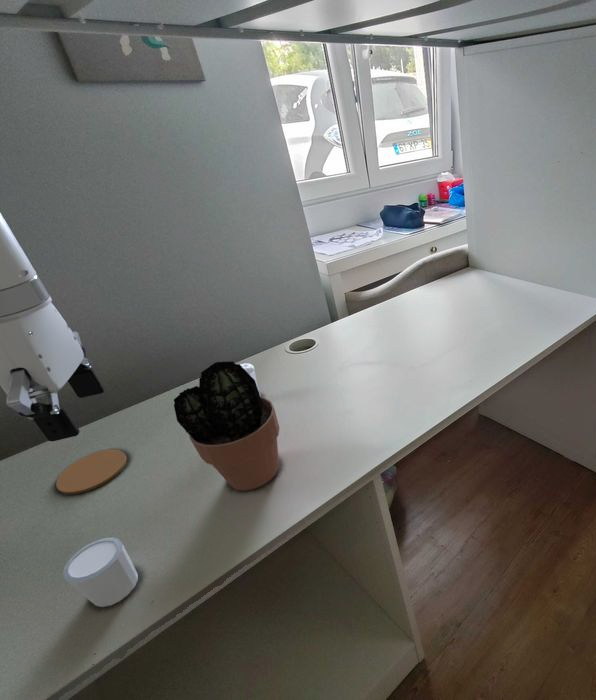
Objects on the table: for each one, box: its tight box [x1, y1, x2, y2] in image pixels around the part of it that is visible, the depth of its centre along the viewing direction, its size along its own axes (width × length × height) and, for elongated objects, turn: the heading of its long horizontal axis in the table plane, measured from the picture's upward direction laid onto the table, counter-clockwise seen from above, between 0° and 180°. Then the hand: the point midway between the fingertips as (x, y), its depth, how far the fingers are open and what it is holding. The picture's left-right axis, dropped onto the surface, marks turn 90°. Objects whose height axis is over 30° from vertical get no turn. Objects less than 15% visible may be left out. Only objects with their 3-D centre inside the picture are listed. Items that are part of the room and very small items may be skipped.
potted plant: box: [173, 360, 280, 491], centre depth 77 cm, size 14×14×25 cm
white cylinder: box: [62, 536, 139, 608], centre depth 63 cm, size 7×7×7 cm
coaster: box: [55, 449, 128, 495], centre depth 85 cm, size 11×11×1 cm
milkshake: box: [240, 362, 262, 397], centre depth 101 cm, size 4×5×10 cm
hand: (79, 414), depth 60 cm, fingers open, 9 cm apart
